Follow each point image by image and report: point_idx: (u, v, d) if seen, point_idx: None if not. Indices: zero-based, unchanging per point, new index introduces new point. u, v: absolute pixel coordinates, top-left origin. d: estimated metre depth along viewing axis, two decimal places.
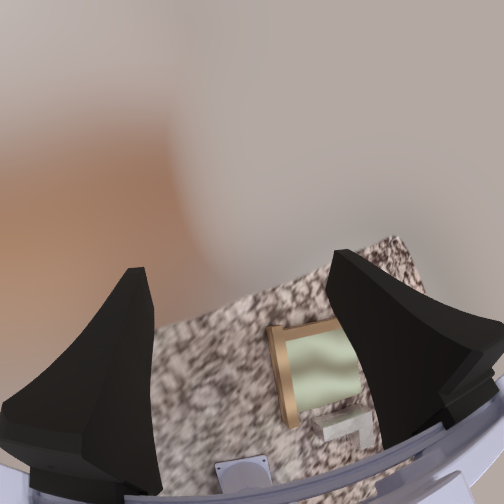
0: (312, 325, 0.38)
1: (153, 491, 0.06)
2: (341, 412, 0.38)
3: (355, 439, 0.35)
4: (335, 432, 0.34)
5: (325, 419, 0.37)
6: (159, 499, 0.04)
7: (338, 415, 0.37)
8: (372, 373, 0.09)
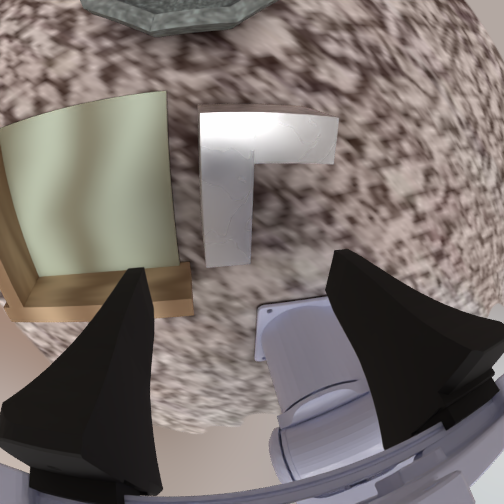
0: None
1: (153, 491, 0.06)
2: (199, 165, 0.16)
3: None
4: (231, 236, 0.15)
5: None
6: (159, 499, 0.04)
7: None
8: (372, 373, 0.09)
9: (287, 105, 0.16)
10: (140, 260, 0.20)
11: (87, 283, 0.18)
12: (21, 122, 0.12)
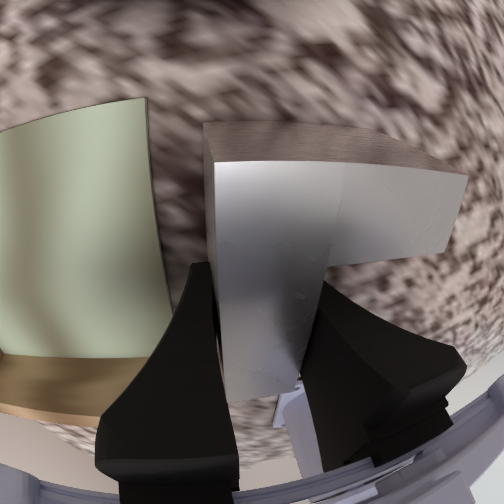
0: None
1: None
2: (207, 234, 0.09)
3: None
4: (269, 370, 0.08)
5: None
6: None
7: None
8: (310, 390, 0.08)
9: (354, 128, 0.09)
10: (126, 348, 0.13)
11: (61, 375, 0.12)
12: None
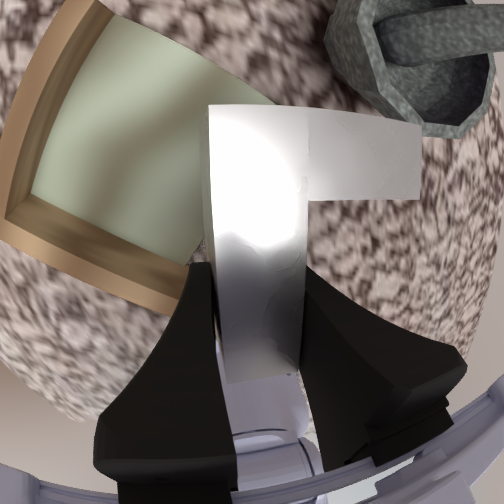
0: (2, 140, 0.09)
1: None
2: (205, 217, 0.10)
3: None
4: (269, 334, 0.08)
5: None
6: None
7: (208, 246, 0.10)
8: (310, 390, 0.08)
9: None
10: (152, 241, 0.18)
11: (87, 234, 0.15)
12: (145, 29, 0.11)
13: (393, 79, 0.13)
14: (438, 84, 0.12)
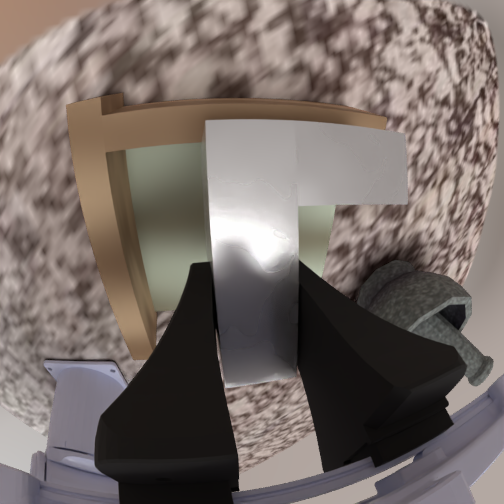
0: (209, 108, 0.10)
1: None
2: None
3: None
4: (265, 336, 0.08)
5: None
6: None
7: (209, 257, 0.11)
8: (310, 390, 0.08)
9: None
10: (158, 280, 0.18)
11: (132, 234, 0.14)
12: None
13: None
14: None
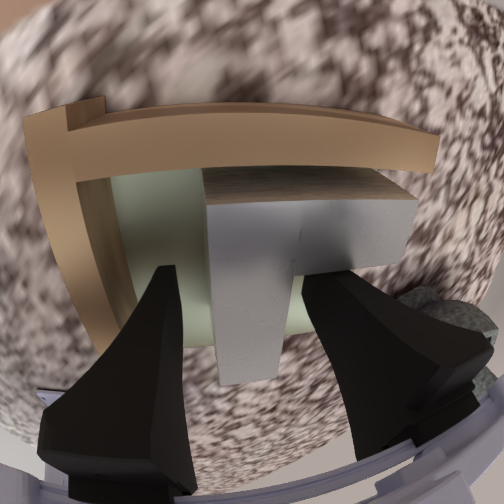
0: (219, 119, 0.07)
1: None
2: None
3: None
4: (254, 358, 0.10)
5: (210, 312, 0.13)
6: None
7: (207, 276, 0.11)
8: (344, 381, 0.08)
9: None
10: None
11: (121, 274, 0.12)
12: None
13: None
14: None
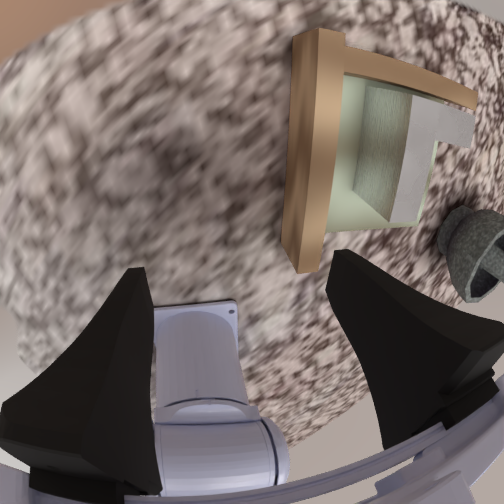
0: (405, 64, 0.12)
1: (153, 491, 0.06)
2: (371, 136, 0.17)
3: None
4: (411, 196, 0.16)
5: (370, 181, 0.18)
6: (159, 499, 0.04)
7: (376, 152, 0.17)
8: (372, 373, 0.09)
9: None
10: None
11: None
12: None
13: None
14: None
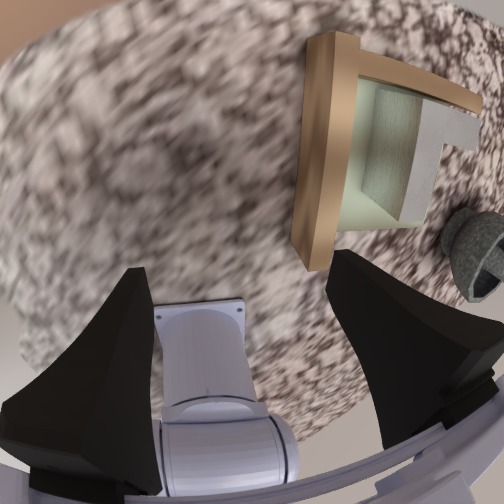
0: (415, 69, 0.12)
1: (153, 491, 0.06)
2: (381, 138, 0.17)
3: None
4: (420, 196, 0.16)
5: (379, 182, 0.18)
6: (159, 499, 0.04)
7: (385, 153, 0.17)
8: (372, 373, 0.09)
9: None
10: None
11: None
12: None
13: None
14: None
